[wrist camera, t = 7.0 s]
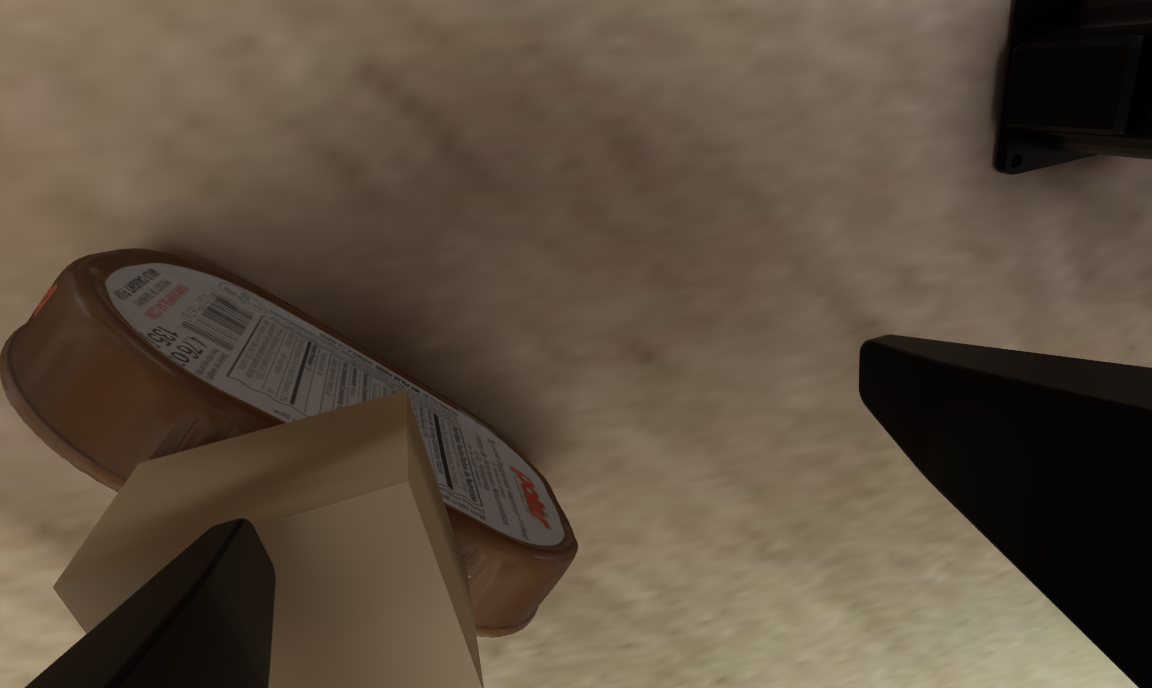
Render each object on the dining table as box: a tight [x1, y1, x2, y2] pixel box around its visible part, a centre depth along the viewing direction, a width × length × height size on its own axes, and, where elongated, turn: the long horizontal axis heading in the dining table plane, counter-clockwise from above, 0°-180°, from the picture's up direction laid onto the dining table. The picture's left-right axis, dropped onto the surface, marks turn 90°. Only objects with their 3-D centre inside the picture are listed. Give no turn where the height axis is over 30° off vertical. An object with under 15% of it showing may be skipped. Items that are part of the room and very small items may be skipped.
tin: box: [0, 248, 578, 637], centre depth 17 cm, size 15×3×8 cm, turn 50°
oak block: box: [53, 390, 484, 688], centre depth 12 cm, size 5×5×3 cm
